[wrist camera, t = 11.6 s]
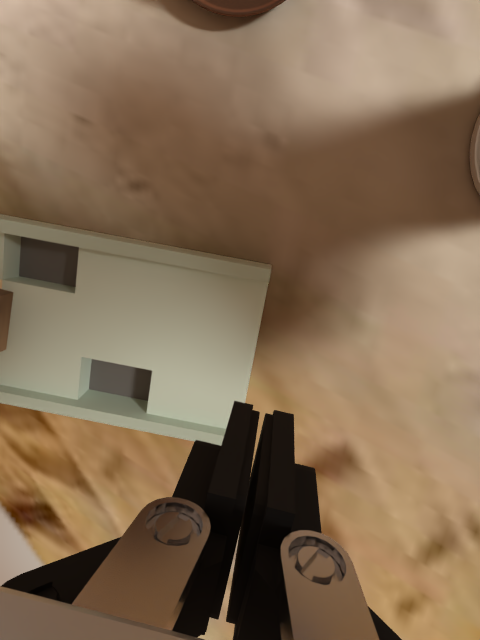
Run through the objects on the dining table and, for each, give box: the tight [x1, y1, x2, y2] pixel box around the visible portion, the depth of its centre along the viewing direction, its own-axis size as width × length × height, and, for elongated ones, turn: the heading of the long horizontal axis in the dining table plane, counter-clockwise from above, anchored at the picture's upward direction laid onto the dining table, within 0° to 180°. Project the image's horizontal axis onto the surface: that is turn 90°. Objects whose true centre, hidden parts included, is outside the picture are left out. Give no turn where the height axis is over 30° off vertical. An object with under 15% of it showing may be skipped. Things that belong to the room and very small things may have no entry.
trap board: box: [0, 214, 272, 446], centre depth 35 cm, size 26×15×4 cm, turn 80°
